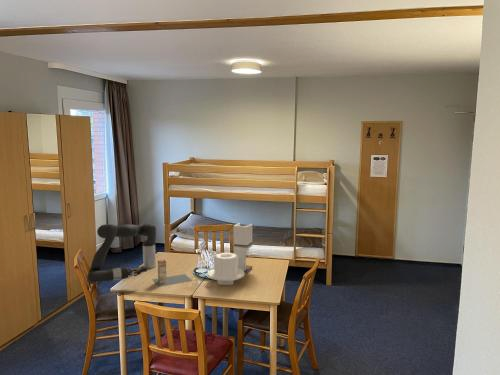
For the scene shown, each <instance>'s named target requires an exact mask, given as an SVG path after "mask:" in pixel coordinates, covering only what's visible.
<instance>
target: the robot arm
mask: <svg viewBox="0 0 500 375" xmlns="http://www.w3.org/2000/svg"><path fill="white" fill-rule="evenodd" d="M97 235H98V237H99V238H101V239H104V241H103V242H102V244H101V245H100V247H99V248H98V249H97V250H96V252H95V254H94V255H93V258H92V261H91V265H90V268H89V271H88V273H87V275H86V281H87V284H89V285H93V284H94V285H95V284H96V283H98V282H111V281H119V280H124V279H128V278H129V276H130V277H131V276H134V277H137V276H139V275H141V274H142V273H144V272H147V271H148V269H154V268H155V267H156V241H157V236H156V235H157V227H156V225H154V224H150V223H149V224H148V223H143V224H134V223H133V224H130V223H129V224H128V223H127V224H126V223H125V224H118V225H115V224H113V223H112V224H111V223H110V224H108V223H107V224H101V225H100V226H98V228H97ZM135 236H143V237H147V239H146V240H143V241H142V261H143V262H142V265H143V266H142V267H136V266H135V267H134V266H130V267H129V268H128V267H127V266H121V267H116V268H112V269H105V270H102V268H103V267H104V263H105V259H106V257H107V255H108V252H109V250H110V249H111V246H112V244H113V242H114V240H115V238H116V237H117V238H133V237H135Z"/></svg>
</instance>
